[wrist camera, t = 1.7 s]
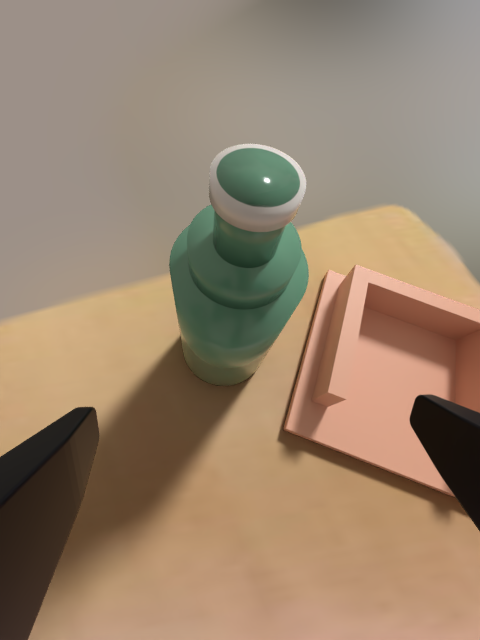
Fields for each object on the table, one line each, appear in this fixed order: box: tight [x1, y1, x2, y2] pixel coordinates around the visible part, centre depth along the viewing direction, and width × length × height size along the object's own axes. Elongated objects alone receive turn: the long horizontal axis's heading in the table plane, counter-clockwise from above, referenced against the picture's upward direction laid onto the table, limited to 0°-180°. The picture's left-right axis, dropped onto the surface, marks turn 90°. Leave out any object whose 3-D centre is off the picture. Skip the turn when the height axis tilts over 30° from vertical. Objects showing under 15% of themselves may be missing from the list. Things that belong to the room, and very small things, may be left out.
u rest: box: [283, 265, 480, 498], centre depth 21 cm, size 14×14×4 cm
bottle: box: [169, 144, 309, 386], centre depth 16 cm, size 6×6×15 cm
